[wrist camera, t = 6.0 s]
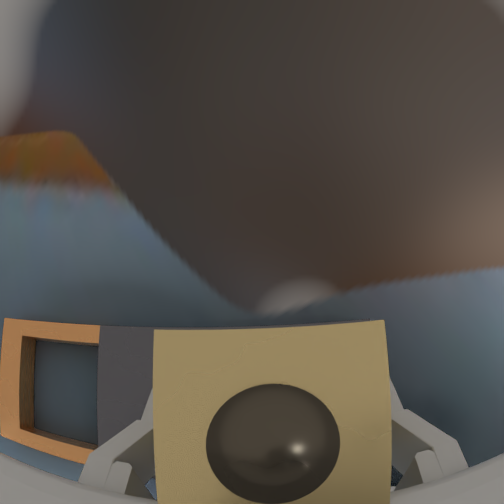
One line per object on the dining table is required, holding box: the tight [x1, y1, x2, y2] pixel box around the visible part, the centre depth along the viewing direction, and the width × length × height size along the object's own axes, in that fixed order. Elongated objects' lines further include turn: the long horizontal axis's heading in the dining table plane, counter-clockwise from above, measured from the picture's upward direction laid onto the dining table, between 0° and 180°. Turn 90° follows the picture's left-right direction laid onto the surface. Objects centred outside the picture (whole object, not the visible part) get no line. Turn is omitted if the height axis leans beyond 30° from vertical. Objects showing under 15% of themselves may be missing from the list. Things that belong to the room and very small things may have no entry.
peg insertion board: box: [0, 318, 370, 479], centre depth 15 cm, size 22×8×2 cm, turn 91°
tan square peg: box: [153, 320, 392, 504], centre depth 10 cm, size 4×4×11 cm
